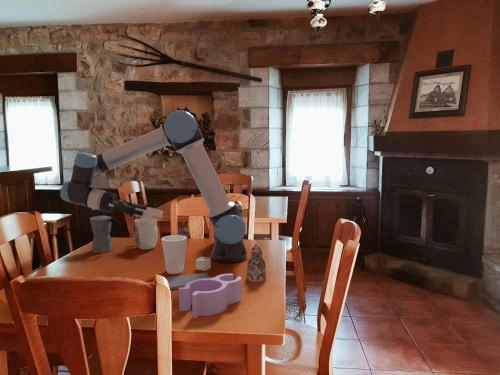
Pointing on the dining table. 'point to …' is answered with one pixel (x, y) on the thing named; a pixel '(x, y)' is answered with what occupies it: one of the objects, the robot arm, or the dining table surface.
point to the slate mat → (184, 280)
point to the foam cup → (174, 253)
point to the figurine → (256, 266)
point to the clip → (210, 295)
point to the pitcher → (146, 233)
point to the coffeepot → (102, 233)
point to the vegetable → (184, 231)
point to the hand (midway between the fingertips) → (157, 215)
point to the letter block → (203, 263)
